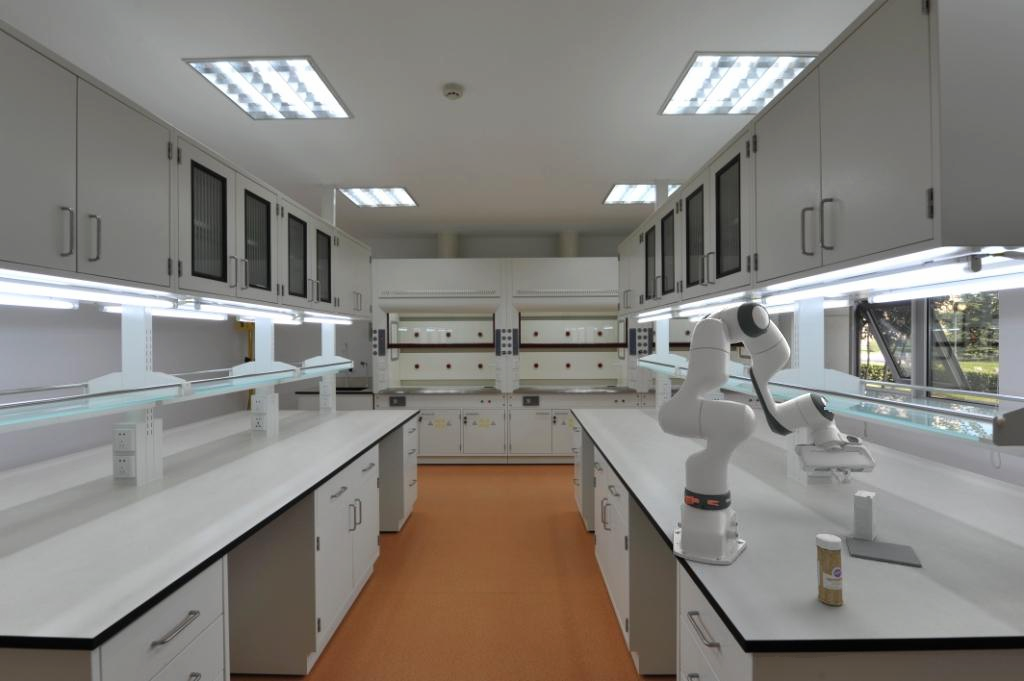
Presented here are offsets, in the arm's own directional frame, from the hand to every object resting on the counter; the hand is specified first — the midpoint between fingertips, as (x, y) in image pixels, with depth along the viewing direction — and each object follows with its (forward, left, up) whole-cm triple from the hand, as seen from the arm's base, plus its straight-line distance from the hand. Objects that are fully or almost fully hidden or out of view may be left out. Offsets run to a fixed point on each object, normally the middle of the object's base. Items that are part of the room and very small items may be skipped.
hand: (844, 483), depth 144 cm
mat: (-19, -6, -12) cm, 23 cm away
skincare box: (-10, -4, -12) cm, 16 cm away
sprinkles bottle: (-52, +7, -12) cm, 54 cm away
